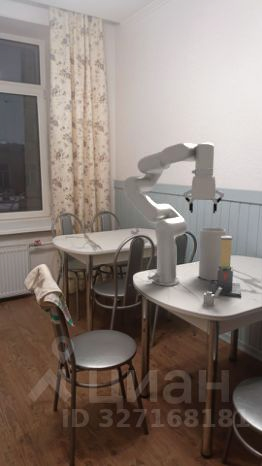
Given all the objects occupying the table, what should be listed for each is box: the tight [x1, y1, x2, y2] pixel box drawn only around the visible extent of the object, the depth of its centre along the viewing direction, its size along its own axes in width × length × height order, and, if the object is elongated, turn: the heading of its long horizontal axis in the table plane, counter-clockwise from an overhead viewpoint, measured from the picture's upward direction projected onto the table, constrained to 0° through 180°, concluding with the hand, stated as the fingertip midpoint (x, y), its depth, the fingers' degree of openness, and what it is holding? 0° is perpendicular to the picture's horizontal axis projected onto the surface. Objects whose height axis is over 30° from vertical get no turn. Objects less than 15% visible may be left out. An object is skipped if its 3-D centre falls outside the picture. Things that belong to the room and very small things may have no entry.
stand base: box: [207, 266, 242, 298], centre depth 154 cm, size 14×14×11 cm
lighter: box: [202, 287, 222, 307], centre depth 138 cm, size 7×2×8 cm, turn 61°
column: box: [220, 235, 233, 270], centre depth 152 cm, size 5×5×17 cm
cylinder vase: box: [198, 227, 227, 281], centre depth 172 cm, size 12×12×25 cm
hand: (202, 212), depth 147 cm, fingers open, 9 cm apart
